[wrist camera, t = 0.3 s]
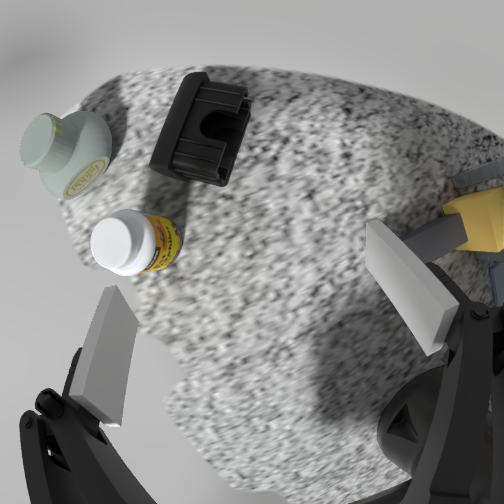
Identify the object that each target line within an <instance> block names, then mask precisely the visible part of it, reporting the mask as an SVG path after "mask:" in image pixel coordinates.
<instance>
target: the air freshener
mask: <svg viewBox="0 0 504 504" xmlns="http://www.w3.org/2000/svg"><path fill="white" fill-rule="evenodd" d="M111 152H112V136H111V132H110V129H109V126H108V125H107V123H106V121H105V120H104V119H103V118H102V117H101V116H100V115H98V114H96V113H94V112H91V111H78V112H74V113H72V114H69V115H67V116H66V117H64V118H63V119H60V118H58V117H56V116H54V115H52V114H49V113H43V114H41V115H39V116H38V117H36V118H35V119H34V120H33V121H32V122H31V123H30V124H29V126H28V127H27V129H26V131H25V133H24V135H23V137H22V140H21V145H20V156H21V160H22V162H23V164H24V165H25V166H27V167H29V168H33V169H36V170H39V172H40V177H41V180H42V183H43V185H44V186H45V188H46V189H47V190H48V191H49V192H50V193H51V194H52V195H54V196H55V197H57V198H60V199H72V198H75V197H77V196H78V195H80V194H82V193H83V192H84V191H86V190H87V189H88V188H90V187H91V186H92V185H93V184H94V183H95V182H96V181H97V180H98V179H99V178H100V177H101V175H102V174H103V173H104V171H105V170H106V168H107V166H108V164H109V161H110V157H111Z"/></svg>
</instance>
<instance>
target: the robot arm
mask: <svg viewBox="0 0 504 504" xmlns="http://www.w3.org/2000/svg"><path fill="white" fill-rule="evenodd" d="M366 267H367V269H368V270H369V271H370V273H371V274H372V275H373V277H374V278H375V279H376V281H377V282H378V284H379V285H380V286H381V288H382V289H383V291H384V292H385V293H386V295H387V296H388V298H389V299H390V301H391V302H392V303H393V305H394V306H395V308H396V309H397V311H398V312H399V314H400V315H401V317H402V318H403V320H404V321H405V323H406V324H407V326H408V327H409V329H410V330H411V332H412V333H413V335H414V336H415V338H416V339H417V341H418V343H419V344H420V346H421V347H422V349H423V351H424V352H425V354H426V355H427V356H429V355H431V354H433V353H435V352H437V351H439V350H441V348H442V346H443V344H444V341H445V342H446V343H447V344H448V346H449V347H448V349H447V351H446V353H445V355H444V357H443V360H442V361H443V362H444V361H445V366H444V367H439V368H435V369H432V370H429V371H427V372H425V373H423V374H421V375H420V376H418V377H416V378H415V379H413V380H412V381H411V382H409V383H408V384H407V385H406V386H405V387H404V388H402V389H401V390H400V391H399V392H398V393H397V394H396V396H395V397H394V398H393V399H392V400H391V402H390V403H389V404H388V406H387V407H386V409H385V410H384V412H383V414H382V416H381V418H380V421H379V424H378V428H377V440H378V443H379V445H380V447H381V449H382V452H383V453H384V455H385V456H386V457H387V458H388V459H389V460H390V461H391V462H393V463H394V464H395V465H397V466H398V467H400V468H401V469H402V470H404V471H405V472H407V473H408V474H409V475H411V477H412V479H410V480H408V481H405V482H403V483H401V484H399V485H396V486H394V487H392V488H389V489H387V490H385V491H382V492H380V493H377V494H375V495H372V496H369V497H366V498H364V499H361V500H358V501H355V502H352V503H349V504H504V302H503V304H502V306H500V307H493V308H488V307H487V306H486V305H485V304H483V303H481V302H472V301H471V300H470V299H469V298H468V297H467V296H466V295H465V293H464V292H463V291H462V290H461V289H460V288H459V287H458V286H457V285H456V283H455V282H454V281H452V279H451V278H450V277H449V276H448V275H447V274H446V273H445V272H444V271H443V270H442V269H441V268H440V267H439V266H437V265H436V264H434V263H432V262H428V263H425V264H424V263H423V262H422V261H421V260H420V259H419V258H418V257H417V256H416V255H415V254H414V253H413V252H412V251H411V250H410V249H409V248H408V247H407V246H406V245H405V244H404V243H403V242H402V241H401V240H400V239H399V238H398V237H397V236H396V235H395V234H394V233H393V232H392V231H391V230H390V229H389V228H388V227H387V226H386V225H384V224H383V223H382V222H381V221H380V220H379V219H378V220H374V221H370V222H366ZM138 323H139V321H138V320H137V318H136V316H135V315H134V313H133V312H132V310H131V309H130V307H129V306H128V304H127V302H126V300H125V299H124V297H123V295H122V294H121V292H120V290H119V289H118V287H117V285H115V286H111V287H107V288H105V289H104V291H103V294H102V296H101V299H100V301H99V304H98V306H97V309H96V312H95V314H94V317H93V320H92V322H91V325H90V328H89V331H88V333H87V337H86V339H85V342H84V345H83V347H81V348H79V349H78V351H77V352H76V354H75V355H74V357H73V360H72V363H71V367H70V369H69V374H68V376H67V379H66V382H65V386H64V390H63V393H62V397H61V396H60V395H59V394H58V393H56V392H55V391H54V390H53V389H51V388H47V389H45V390H43V391H41V393H40V394H39V395H38V397H37V398H36V402H35V409H36V410H38V411H39V412H40V413H41V414H42V415H38V414H36V413H35V412H34V411H31V410H28V411H26V412H25V413H24V414H23V415H22V417H21V419H20V424H19V425H20V426H19V427H20V440H21V450H22V458H23V465H24V472H25V478H26V483H27V488H28V492H29V497H30V501H31V504H157V503H156V502H155V501H154V500H153V499H152V497H151V496H150V495H149V494H148V493H147V492H146V490H145V489H144V488H143V487H142V485H141V484H140V483H139V482H138V480H137V479H136V478H135V476H134V475H133V474H132V472H131V471H130V470H129V468H128V467H127V466H126V464H125V463H124V462H123V460H122V459H121V457H120V456H119V454H118V453H117V451H116V450H115V449H114V447H113V446H112V444H111V443H110V441H109V439H108V438H107V436H106V435H105V433H104V431H103V430H102V429H101V428H100V427H99V422H100V421H101V422H102V423H103V424H105V425H106V426H111V427H121V422H122V415H123V406H124V399H125V392H126V386H127V380H128V374H129V368H130V362H131V357H132V352H133V347H134V342H135V337H136V332H137V327H138ZM445 359H446V360H445ZM490 393H491V404H492V413H491V412H490V411H489V410H488V407H489V399H490ZM48 450H50V451H51V456H50V455H49V454H48Z"/></svg>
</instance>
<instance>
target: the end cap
mask: <svg viewBox="0 0 504 504" xmlns="http://www.w3.org/2000/svg"><path fill="white" fill-rule="evenodd" d="M247 96H248V89H247V87H241V86H236V85H230V84H224V83H218V82H211V81H210V80H209V78H208V75H207V73H206V72H193V73H190V74H188V75H186V76H185V77H184V79H183V81H182V83H181V85H180V87H179V90H178V92H177V94H176V96H175V99H174V101H173V103H172V106H171V108H170V110H169V113H168V115H167V118H166V120H165V123H164V125H163V128H162V130H161V133H160V136H159V138H158V141H157V144H156V146H155V149H154V152H153V155H152V157H151V160H150V163H149V167H150V168H151V169H152V170H154V171H156V172H158V173H161V174H163V175H166V176H169V177H172V178H175V179H179V180H182V181H186V182H188V180H189V179H193V180H197V181H201V182H204V183H208V184H212V185H216V186H220V187H225V186H226V185H227V184H228V182H229V178H230V175H231V172H232V169H233V166H234V163H235V160H236V157H237V154H238V151H239V148H240V145H241V142H242V139H243V136H244V133H245V130H246V127H247V124H248V122H249V119H250V107H251V105H250V100H247V99H243V97H247Z"/></svg>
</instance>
